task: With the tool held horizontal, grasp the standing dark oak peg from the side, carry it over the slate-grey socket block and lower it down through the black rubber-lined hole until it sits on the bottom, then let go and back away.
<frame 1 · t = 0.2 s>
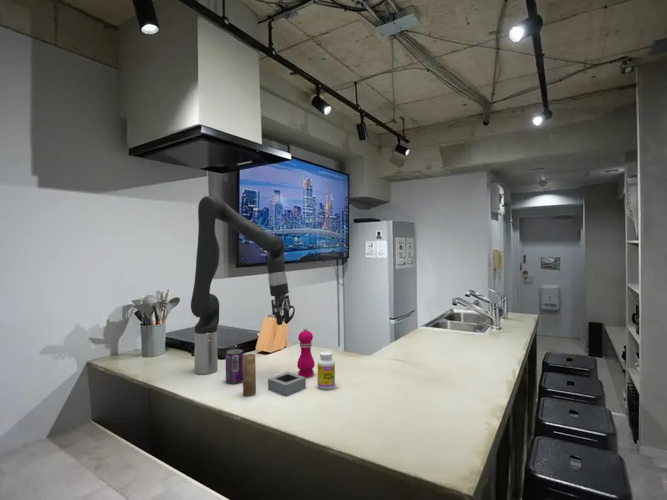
hand: (283, 322, 149), 22 cm above the counter, tool pointing down, fingers open, 8 cm apart
supplement bottle: (326, 387, 138), on the counter
beverage can: (235, 381, 145), on the counter
peg: (249, 394, 132), on the counter
socket: (287, 388, 137), on the counter
pepper mill: (306, 375, 151), on the counter
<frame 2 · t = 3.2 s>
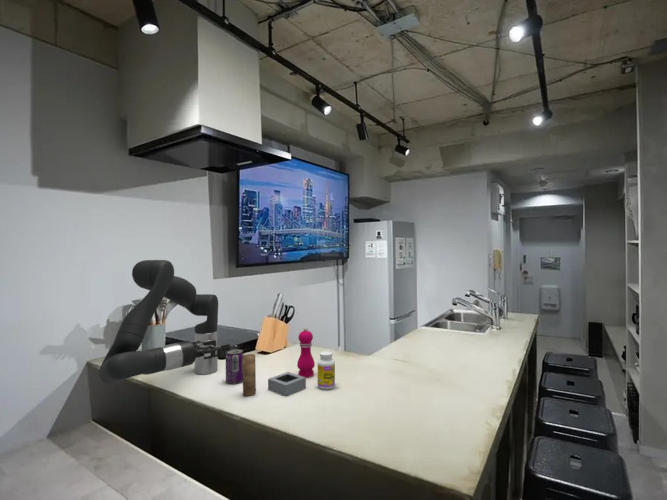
hand: (222, 345, 124), 20 cm above the counter, tool horizontal, fingers open, 8 cm apart
nothing on the counter moved.
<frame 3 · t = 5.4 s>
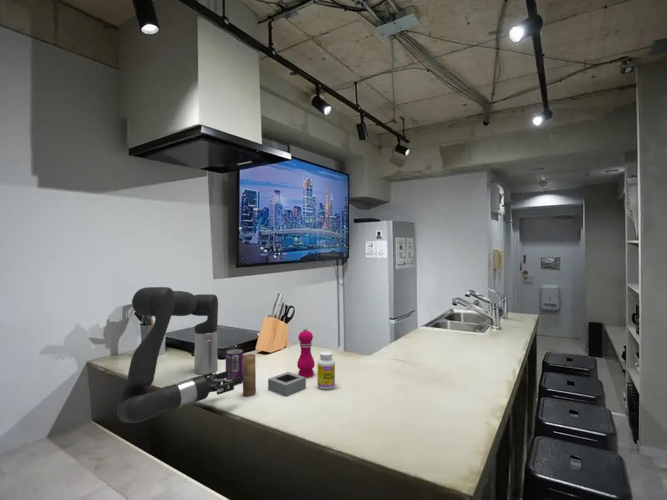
hand: (233, 377, 127), 8 cm above the counter, tool horizontal, fingers open, 8 cm apart
nothing on the counter moved.
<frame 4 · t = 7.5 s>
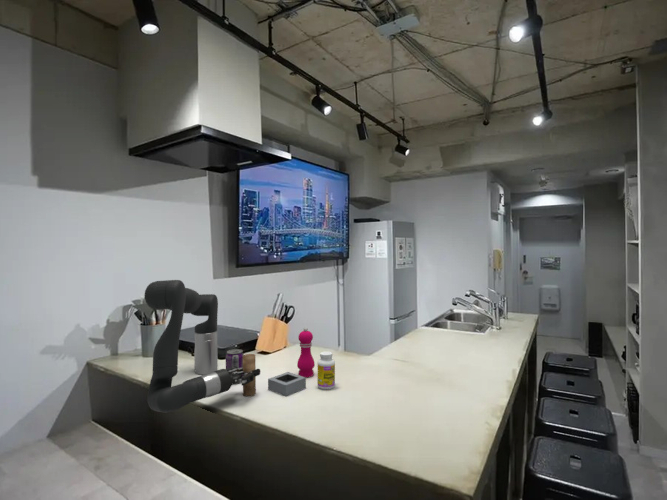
hand: (255, 370, 134), 8 cm above the counter, tool horizontal, fingers closed on peg, 4 cm apart
peg: (249, 393, 132), on the counter, touching gripper
everything else where it was.
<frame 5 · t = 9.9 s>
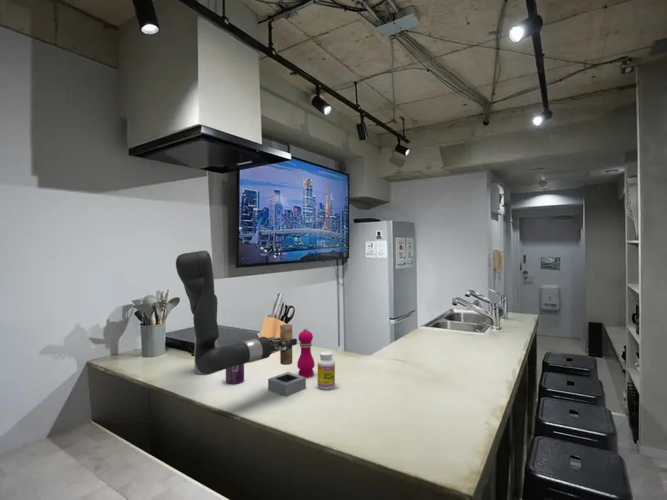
hand: (291, 340, 138), 18 cm above the counter, tool horizontal, fingers closed on peg, 4 cm apart
peg: (286, 362, 136), point 10 cm above the counter, touching gripper
everything else where it was.
when the fingers open (9 cm above the counter, at t = 12.3 s): peg drops 1 cm, resting in socket.
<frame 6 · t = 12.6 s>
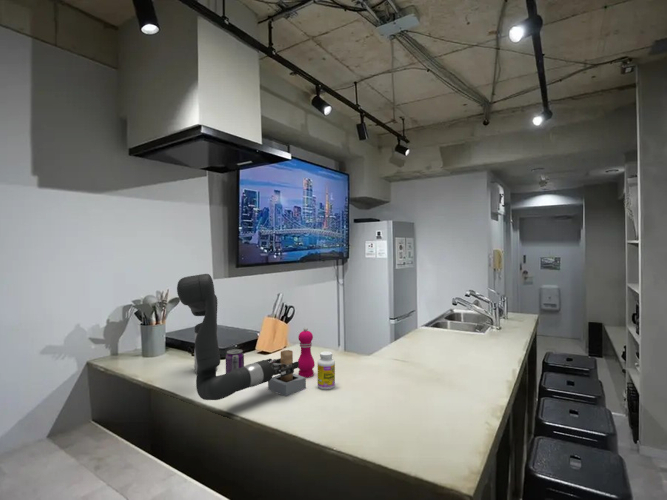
hand: (290, 362, 138), 10 cm above the counter, tool horizontal, fingers open, 7 cm apart
peg: (286, 388, 137), resting in socket
everything else where it was.
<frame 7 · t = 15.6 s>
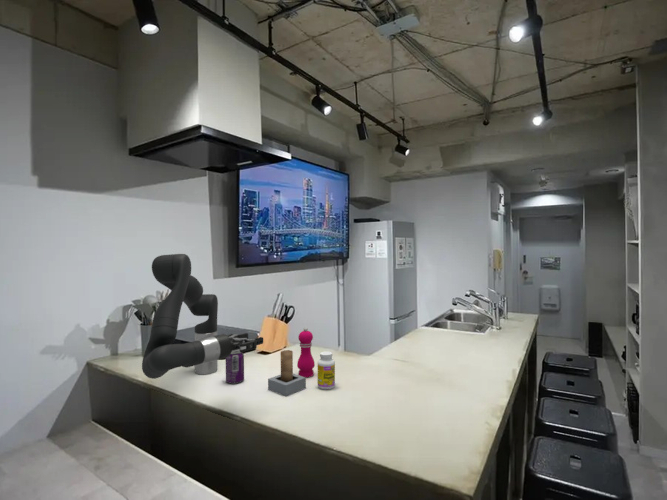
hand: (254, 338, 126), 22 cm above the counter, tool horizontal, fingers open, 8 cm apart
nothing on the counter moved.
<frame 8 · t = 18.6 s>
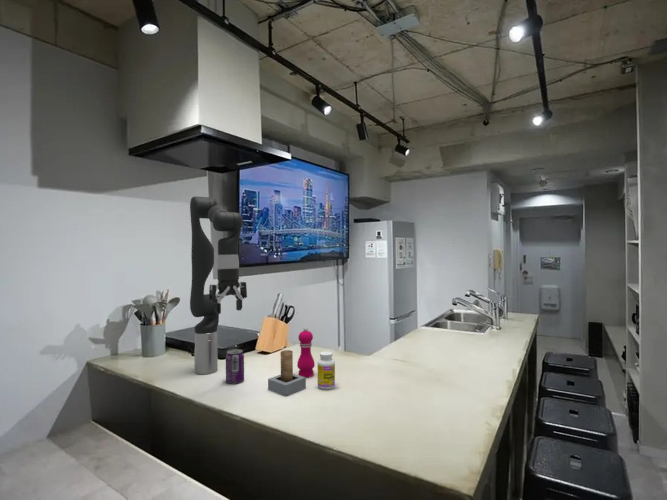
hand: (228, 311, 132), 30 cm above the counter, tool pointing down, fingers open, 8 cm apart
nothing on the counter moved.
at the end: peg 0.1 cm off-centre on the socket, point 0.0 cm above the socket's base; peg tilted 0°; the gripper is holding nothing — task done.
